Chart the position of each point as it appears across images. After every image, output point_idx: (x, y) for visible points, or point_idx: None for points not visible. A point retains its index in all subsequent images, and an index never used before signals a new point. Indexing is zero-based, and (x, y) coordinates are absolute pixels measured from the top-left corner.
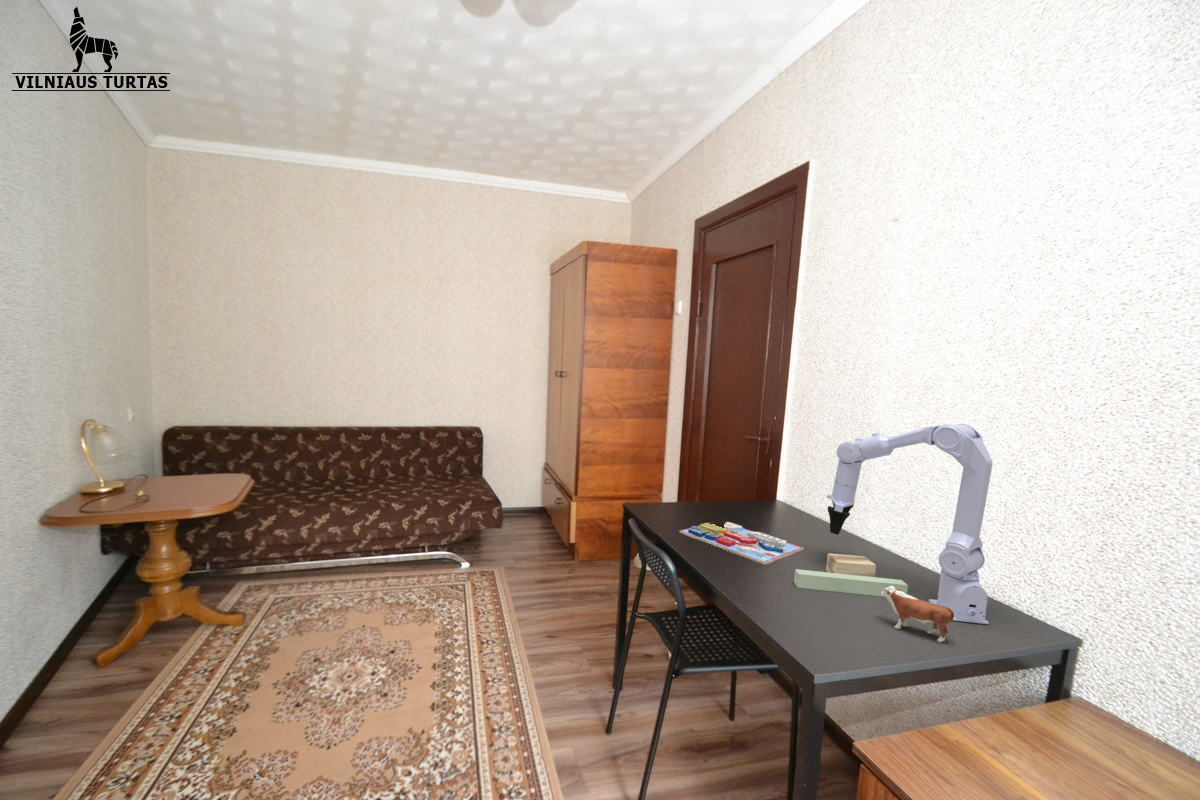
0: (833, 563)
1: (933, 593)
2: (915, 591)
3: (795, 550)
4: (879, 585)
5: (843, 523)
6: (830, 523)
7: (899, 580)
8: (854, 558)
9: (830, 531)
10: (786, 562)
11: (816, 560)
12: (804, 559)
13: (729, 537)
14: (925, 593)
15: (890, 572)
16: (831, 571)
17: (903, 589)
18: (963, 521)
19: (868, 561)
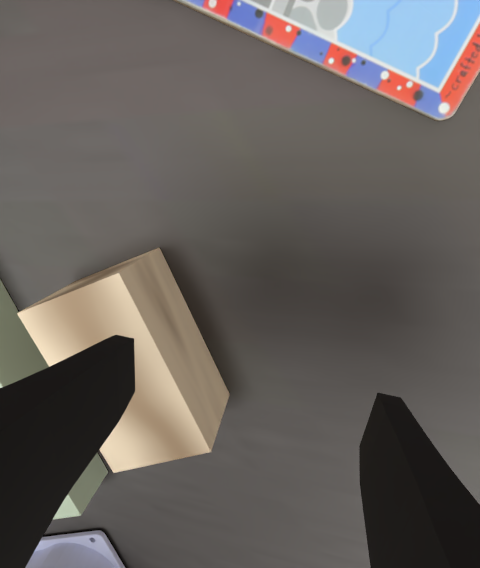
0: (65, 291)
1: (185, 560)
2: (164, 519)
3: (347, 66)
4: None
5: (362, 490)
6: (37, 375)
7: (70, 508)
8: (136, 400)
9: (108, 338)
10: (128, 35)
11: (274, 203)
12: (248, 136)
13: None
14: (168, 540)
15: (313, 494)
16: (100, 272)
17: None
18: None
19: (142, 453)
